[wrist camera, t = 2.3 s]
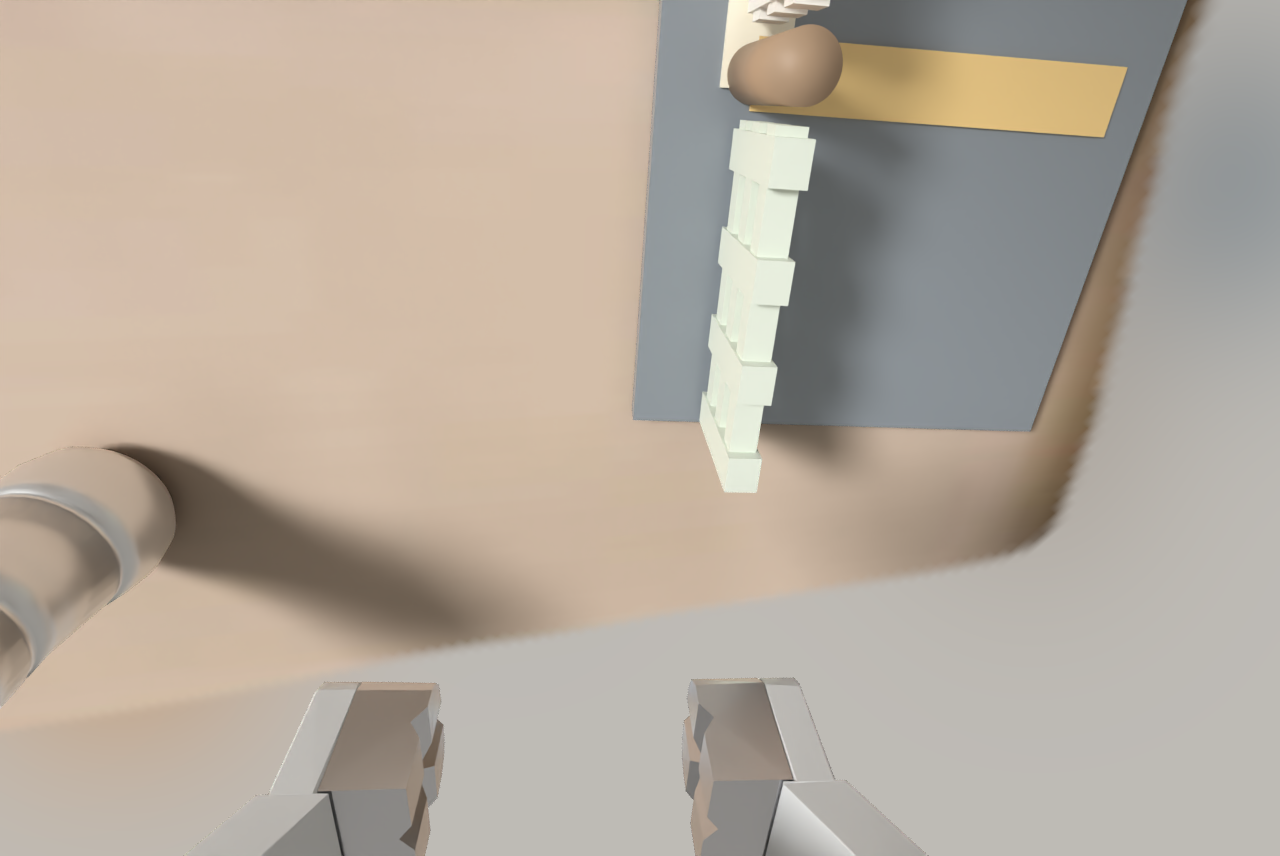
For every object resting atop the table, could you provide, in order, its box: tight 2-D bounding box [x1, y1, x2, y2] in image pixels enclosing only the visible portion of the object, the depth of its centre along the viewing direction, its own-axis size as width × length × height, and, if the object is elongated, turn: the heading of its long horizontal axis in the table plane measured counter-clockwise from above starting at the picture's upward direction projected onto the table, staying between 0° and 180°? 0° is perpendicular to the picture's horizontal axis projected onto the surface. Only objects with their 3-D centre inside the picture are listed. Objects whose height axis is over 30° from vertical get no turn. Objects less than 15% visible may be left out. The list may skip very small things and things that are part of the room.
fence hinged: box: [699, 120, 816, 493], centre depth 24 cm, size 12×1×6 cm, turn 176°
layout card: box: [632, 0, 1187, 431], centre depth 25 cm, size 28×19×1 cm
